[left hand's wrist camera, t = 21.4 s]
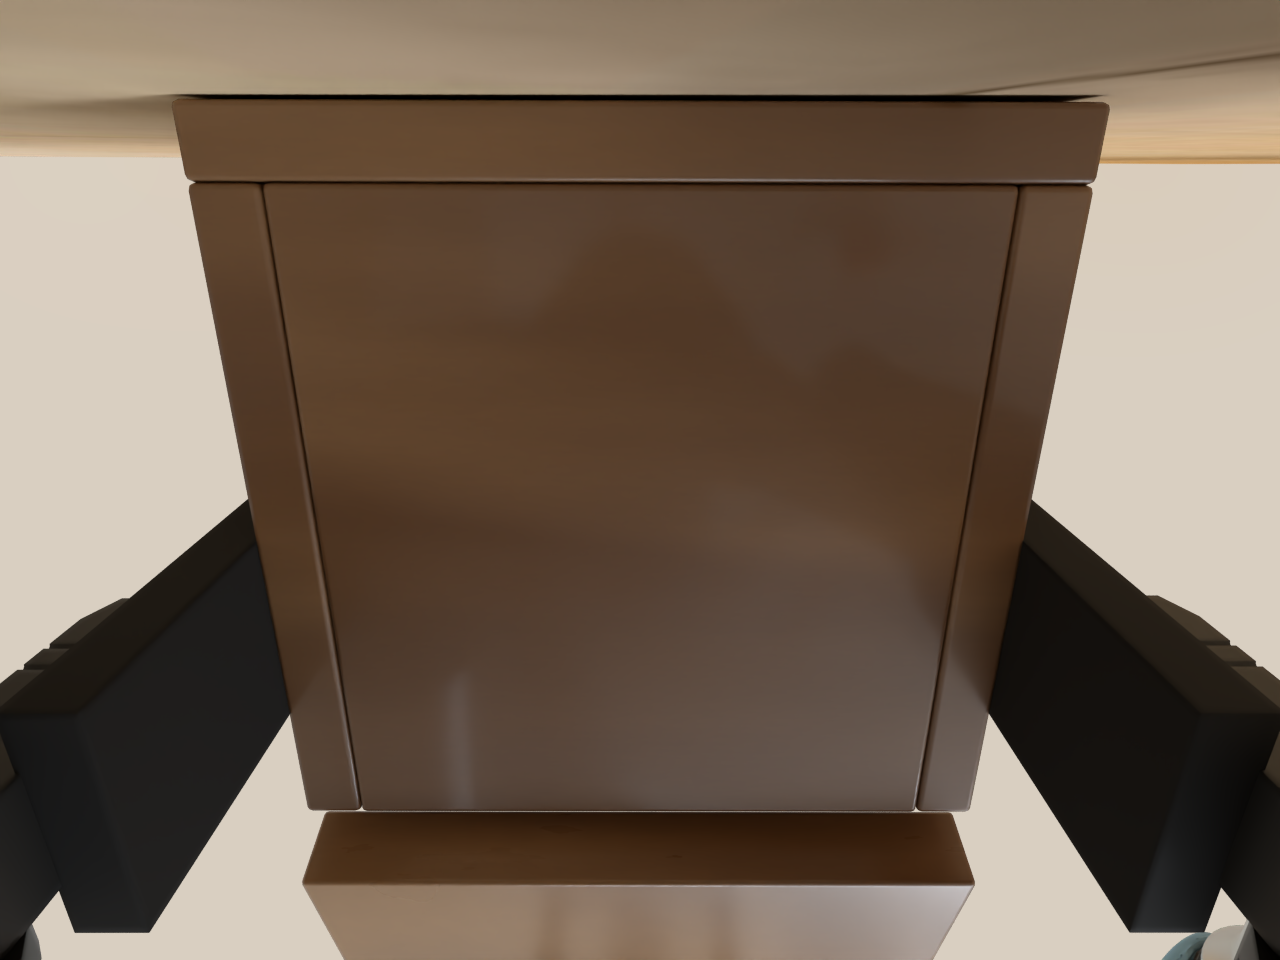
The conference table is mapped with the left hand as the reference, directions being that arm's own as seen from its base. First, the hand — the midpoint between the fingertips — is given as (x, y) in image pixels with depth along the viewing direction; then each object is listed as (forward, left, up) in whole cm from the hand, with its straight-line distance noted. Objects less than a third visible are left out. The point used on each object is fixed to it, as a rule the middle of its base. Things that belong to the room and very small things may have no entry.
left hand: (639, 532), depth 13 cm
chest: (+4, -3, -6) cm, 8 cm away
